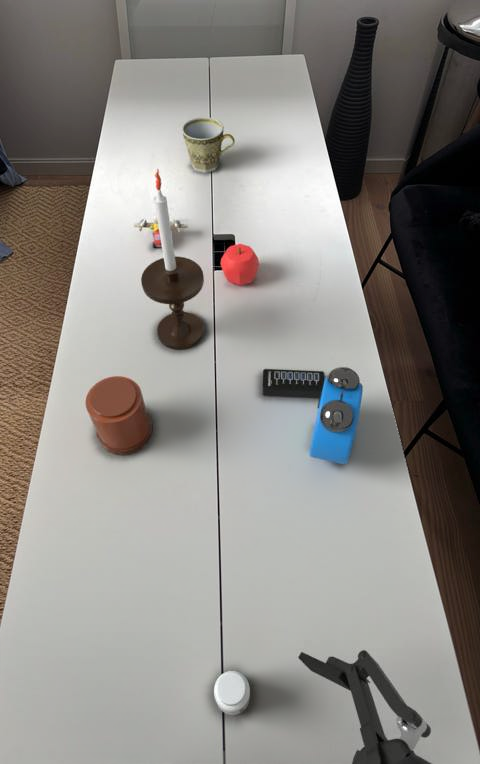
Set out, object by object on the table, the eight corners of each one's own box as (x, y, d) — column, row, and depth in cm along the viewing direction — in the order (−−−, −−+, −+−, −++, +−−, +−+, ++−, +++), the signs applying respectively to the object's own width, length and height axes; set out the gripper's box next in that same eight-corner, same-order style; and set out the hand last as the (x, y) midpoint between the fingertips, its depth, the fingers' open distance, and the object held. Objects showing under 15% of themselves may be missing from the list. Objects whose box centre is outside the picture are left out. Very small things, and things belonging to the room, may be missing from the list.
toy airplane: (158, 256, 120) (154, 232, 115) (134, 236, 124) (129, 212, 119) (190, 237, 123) (188, 213, 118) (166, 218, 127) (162, 194, 122)
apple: (258, 290, 113) (259, 261, 107) (220, 290, 113) (218, 261, 107) (259, 264, 118) (259, 234, 111) (222, 264, 118) (220, 234, 112)
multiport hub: (323, 398, 97) (325, 391, 95) (262, 395, 98) (262, 388, 96) (323, 378, 100) (324, 371, 98) (263, 376, 100) (263, 368, 99)
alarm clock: (342, 479, 88) (357, 432, 76) (304, 470, 89) (313, 422, 77) (353, 412, 95) (369, 360, 83) (318, 405, 96) (328, 352, 84)
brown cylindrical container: (127, 465, 90) (115, 432, 82) (86, 437, 93) (69, 403, 85) (163, 424, 95) (155, 389, 86) (123, 399, 98) (111, 363, 89)
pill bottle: (250, 715, 69) (250, 709, 63) (215, 715, 69) (212, 709, 63) (249, 676, 72) (249, 666, 66) (216, 676, 72) (213, 667, 66)
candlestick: (166, 306, 111) (138, 144, 83) (216, 318, 109) (205, 157, 80) (143, 345, 105) (104, 186, 77) (196, 359, 103) (175, 201, 74)
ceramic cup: (179, 173, 138) (175, 135, 130) (194, 151, 143) (191, 114, 135) (228, 182, 135) (227, 144, 127) (241, 160, 141) (240, 122, 133)
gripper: (397, 1045, 38) (228, 856, 55) (516, 704, 50) (346, 636, 67) (340, 1007, 35) (182, 821, 53) (480, 657, 47) (313, 599, 65)
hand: (274, 717), depth 60 cm, fingers open, 13 cm apart
